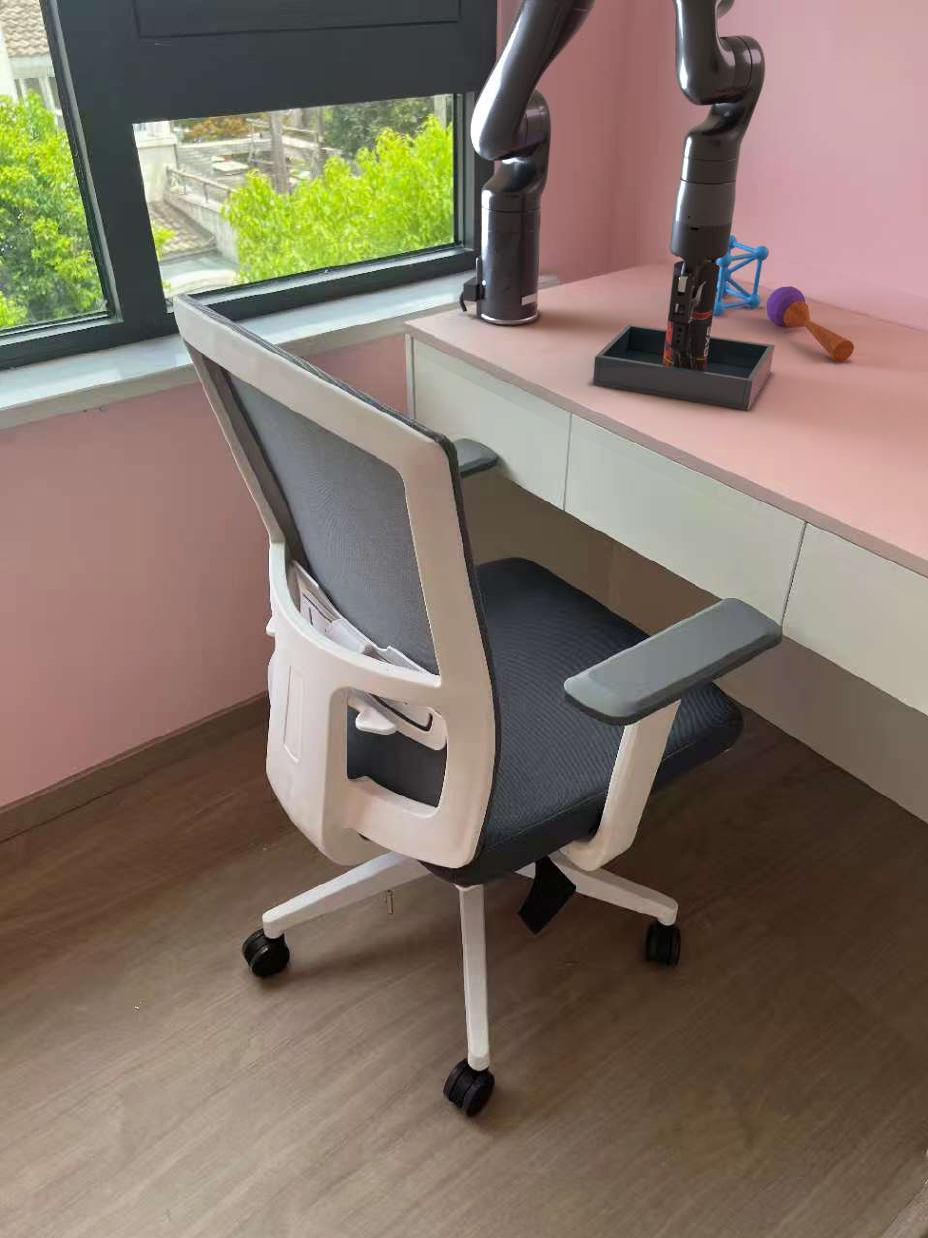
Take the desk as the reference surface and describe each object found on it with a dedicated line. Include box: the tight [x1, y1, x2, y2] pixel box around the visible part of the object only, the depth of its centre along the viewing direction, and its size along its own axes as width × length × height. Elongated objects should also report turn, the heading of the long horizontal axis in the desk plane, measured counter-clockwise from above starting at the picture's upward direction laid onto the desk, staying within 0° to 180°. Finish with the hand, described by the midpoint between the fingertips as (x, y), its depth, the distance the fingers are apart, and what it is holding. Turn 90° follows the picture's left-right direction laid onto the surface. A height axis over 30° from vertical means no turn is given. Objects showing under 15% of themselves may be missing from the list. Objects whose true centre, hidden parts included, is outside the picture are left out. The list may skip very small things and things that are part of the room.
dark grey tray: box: [592, 324, 776, 411], centre depth 138 cm, size 22×15×4 cm
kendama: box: [765, 285, 855, 363], centre depth 150 cm, size 6×6×20 cm
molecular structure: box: [713, 234, 770, 317], centre depth 163 cm, size 10×10×10 cm
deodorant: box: [663, 260, 721, 372], centre depth 135 cm, size 6×6×15 cm
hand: (687, 339), depth 136 cm, fingers open, 8 cm apart
